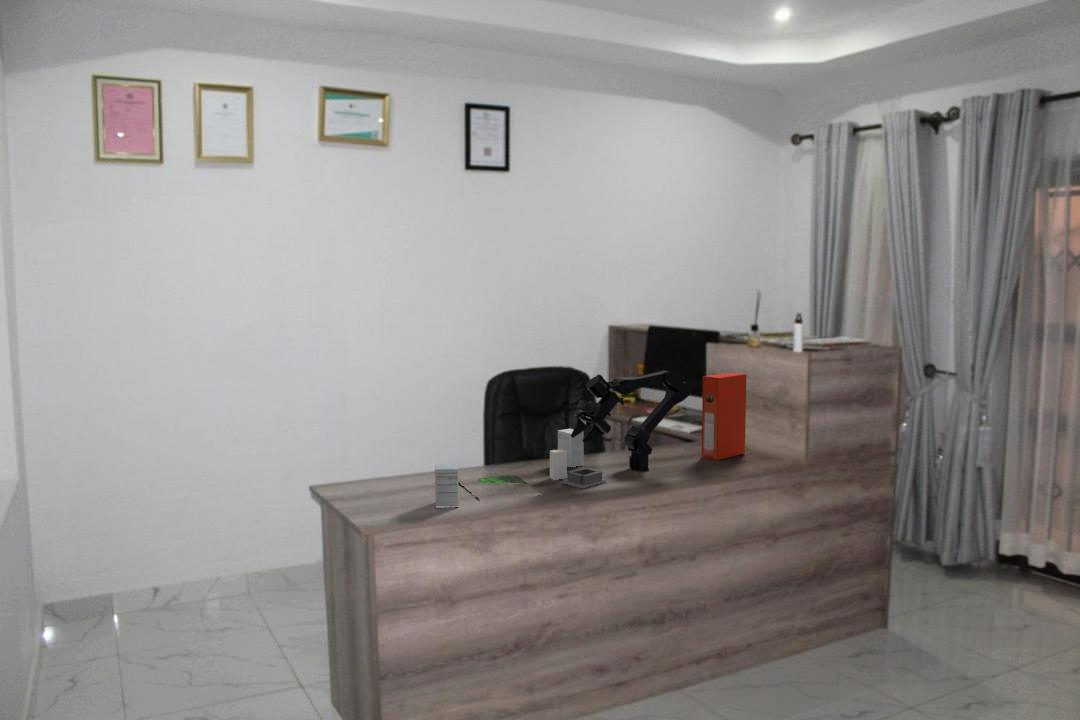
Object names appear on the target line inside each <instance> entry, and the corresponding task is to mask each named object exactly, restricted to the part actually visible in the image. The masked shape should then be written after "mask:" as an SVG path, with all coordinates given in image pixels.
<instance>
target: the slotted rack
mask: <svg viewBox="0 0 1080 720" xmlns="http://www.w3.org/2000/svg"><path fill="white" fill-rule="evenodd" d="M605 482H606V483H607V479H606V478H605V479H604V478H603V471H601V470H600V469H595V468H590V467H581V468H578V469H573V470H570V471H569V470H567V479H564V480H563V482H562V483H564V484H563V485H566V484H568V485H567V486H570V485H572V486H571V487H574V486H575V487H574V488H577V487H579V488H578V489H581V488H583V489H586V487H587V488H590V487H589V486H591V487H594V486H593V485H595V486H598V485H601V484H600V483H602V484H605ZM597 484H598V485H597Z"/></svg>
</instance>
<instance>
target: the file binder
mask: <svg viewBox="0 0 1080 720" xmlns="http://www.w3.org/2000/svg"><path fill="white" fill-rule="evenodd" d="M701 403H702V406H701V412H702V413H701V421H702V422H701V458H703V459H707V460H708V459H709V460H714V461H720V460H725V459H727V458H731V457H735V456H740V454H741V455H744V454H745V453H746V425H747V424H746V417H747V416H746V415H747V414H746V412H747V409H746V408H747V374H746V373H740V372H739V373H738V372H725V373H717V374H713V375H712V374H711V375H704V376H702V401H701Z"/></svg>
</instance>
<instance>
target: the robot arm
mask: <svg viewBox="0 0 1080 720" xmlns="http://www.w3.org/2000/svg"><path fill="white" fill-rule="evenodd" d="M660 384H662V385H664V387H666V390H665V394H664V397H663V399H662V400H661V401H660V402H659V403H658V404H657V406H656V407H655V408H654V409H652V411H651V413H649V415H647V417H646V418H645V419H644V421H643V422H642V423H640V425H638V426H636V425H632V426H630V428H629V429H628V431H626V432H625V436H624V438H623V439H624V440H623V441H624V445H625V446H626V447H627V450H628V451H629V452H630V455H629V456H628V467H629V469H630V471H635V472H637V471H640V472H641V471H645V472H647V471H650V468H649V455H651V454H652V452H653V448H652V447H651V446H650V444H648V443H649V442H650V439H651V434H652V432H653V431H654V430H655V429H656V427H657V428H658V426H659V424H660V423H661V422H662V421H663V420H664V418H665V417H666V416H667V415H668V414H669V412H671V410H672V409H673V408H674V407H675V406H676V405H678V404H680V403H681V402H683V401H685V400H686V399H687V398H688V397H690V395H691V393H692V387H691V384H689V383H688V382H685V381H683V380H681V379H680V378H678V377H676V376H674V375H673V374H672V373H671V372H670V371H667V370H660V371H656V372H653V373H648V374H644V375H639V376H635V377H626V376H625V377H624V376H622V377H619V376H618V377H615V378H613V379H612V380H611V381H606V379H605V378H604V377H603V375H602V374H599V373H598V374H597V375H595V376H593V377H592V378H591V379H589V380H588V381H587V382H586V384H585V388H586V389H587V390H588V391H589V392H590V393H591V394H592V395H593V396H594V397H595V398H596V399H599V400H598V401H597V402H594V401H592V400H589V401H586V400H582V399H579V401H578V404H577V406H576V409H578V410H576V411H575V412H574V414H573V415H574V419H575V425H574V427H573V428H572V429H573V432H572V434H571V437H572V438H574V437H575V436H577V435H578V434H580V433H581V432H585V430H587V429H588V431H587V433H586V434H585V435H584V439H583V442H584V444H586V443H587V442H590V441H591V440H594V439H595V438H599V437H600V436H604V435H606V434H609V433H610V432H611V431H612V426H611V425H610V424H609V423H608V422H607V421H606V419H607V417H611V416H612V414H611V412H612V411H613V410H614V409H615V407H616V406H617V405H620V406H624V405H625V401H624V397H622V396H627V395H631V394H632V393H634V392H636V391H637V390H638V389H643V388H646V387H651V386H655V385H660ZM619 395H622V396H619ZM589 426H590V428H589Z"/></svg>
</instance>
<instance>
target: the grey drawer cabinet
mask: <svg viewBox="0 0 1080 720" xmlns="http://www.w3.org/2000/svg"><path fill="white" fill-rule="evenodd" d="M459 481H460V480H459V463H435V465H434V491H435V493H434V494H435V507H436V506H458V505H459V506H460V496H459V495H460V490H459V489H460V487H459V486H460V484H459Z"/></svg>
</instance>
